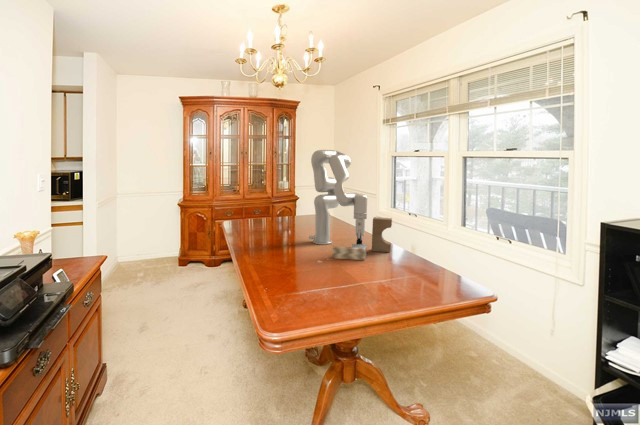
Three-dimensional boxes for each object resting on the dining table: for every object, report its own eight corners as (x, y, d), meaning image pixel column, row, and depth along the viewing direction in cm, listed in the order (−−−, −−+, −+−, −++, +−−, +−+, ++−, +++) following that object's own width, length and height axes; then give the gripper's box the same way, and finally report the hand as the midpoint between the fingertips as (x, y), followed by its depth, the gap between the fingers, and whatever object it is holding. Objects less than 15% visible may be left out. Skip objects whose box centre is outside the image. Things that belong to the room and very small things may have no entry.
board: (332, 258, 203) (332, 247, 202) (333, 256, 206) (333, 246, 205) (365, 260, 200) (365, 249, 199) (365, 258, 203) (365, 248, 202)
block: (351, 257, 204) (352, 247, 203) (351, 253, 212) (352, 243, 211) (366, 258, 203) (366, 247, 202) (365, 254, 211) (365, 244, 210)
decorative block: (390, 250, 221) (392, 218, 218) (390, 252, 215) (391, 219, 212) (372, 248, 224) (373, 217, 221) (371, 251, 218) (372, 218, 215)
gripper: (366, 218, 202) (365, 250, 205) (366, 214, 217) (365, 243, 220) (352, 217, 203) (351, 249, 206) (354, 213, 218) (353, 243, 221)
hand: (359, 246), depth 213 cm, fingers closed
